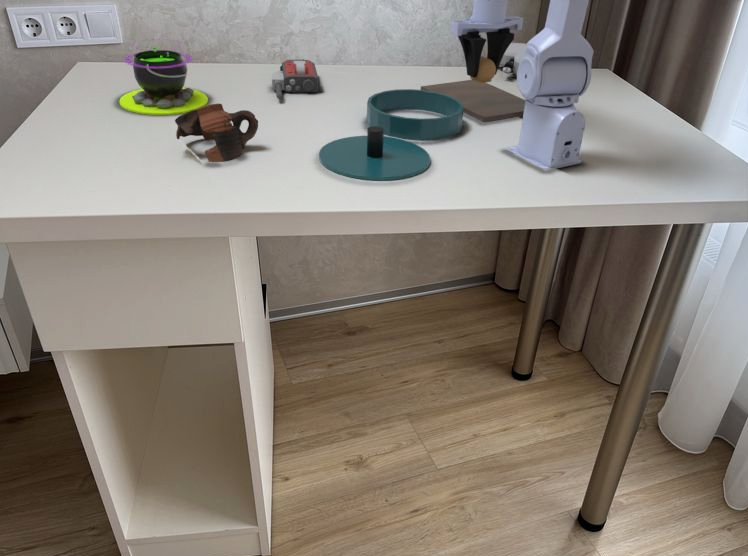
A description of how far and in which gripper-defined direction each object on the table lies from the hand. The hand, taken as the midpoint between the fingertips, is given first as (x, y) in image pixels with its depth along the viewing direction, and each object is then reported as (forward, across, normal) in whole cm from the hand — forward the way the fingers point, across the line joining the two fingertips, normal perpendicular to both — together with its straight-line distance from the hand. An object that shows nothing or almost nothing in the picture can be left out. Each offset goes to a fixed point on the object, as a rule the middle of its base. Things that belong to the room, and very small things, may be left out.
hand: (481, 74), depth 126 cm
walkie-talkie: (+6, +26, -23) cm, 36 cm away
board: (+6, -2, -2) cm, 7 cm away
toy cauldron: (+6, +51, -25) cm, 57 cm away
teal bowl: (+6, +17, +4) cm, 18 cm away
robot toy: (+6, -24, -16) cm, 30 cm away
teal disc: (+5, +32, +15) cm, 35 cm away
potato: (+1, 0, 0) cm, 1 cm away
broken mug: (+6, +51, +2) cm, 51 cm away
